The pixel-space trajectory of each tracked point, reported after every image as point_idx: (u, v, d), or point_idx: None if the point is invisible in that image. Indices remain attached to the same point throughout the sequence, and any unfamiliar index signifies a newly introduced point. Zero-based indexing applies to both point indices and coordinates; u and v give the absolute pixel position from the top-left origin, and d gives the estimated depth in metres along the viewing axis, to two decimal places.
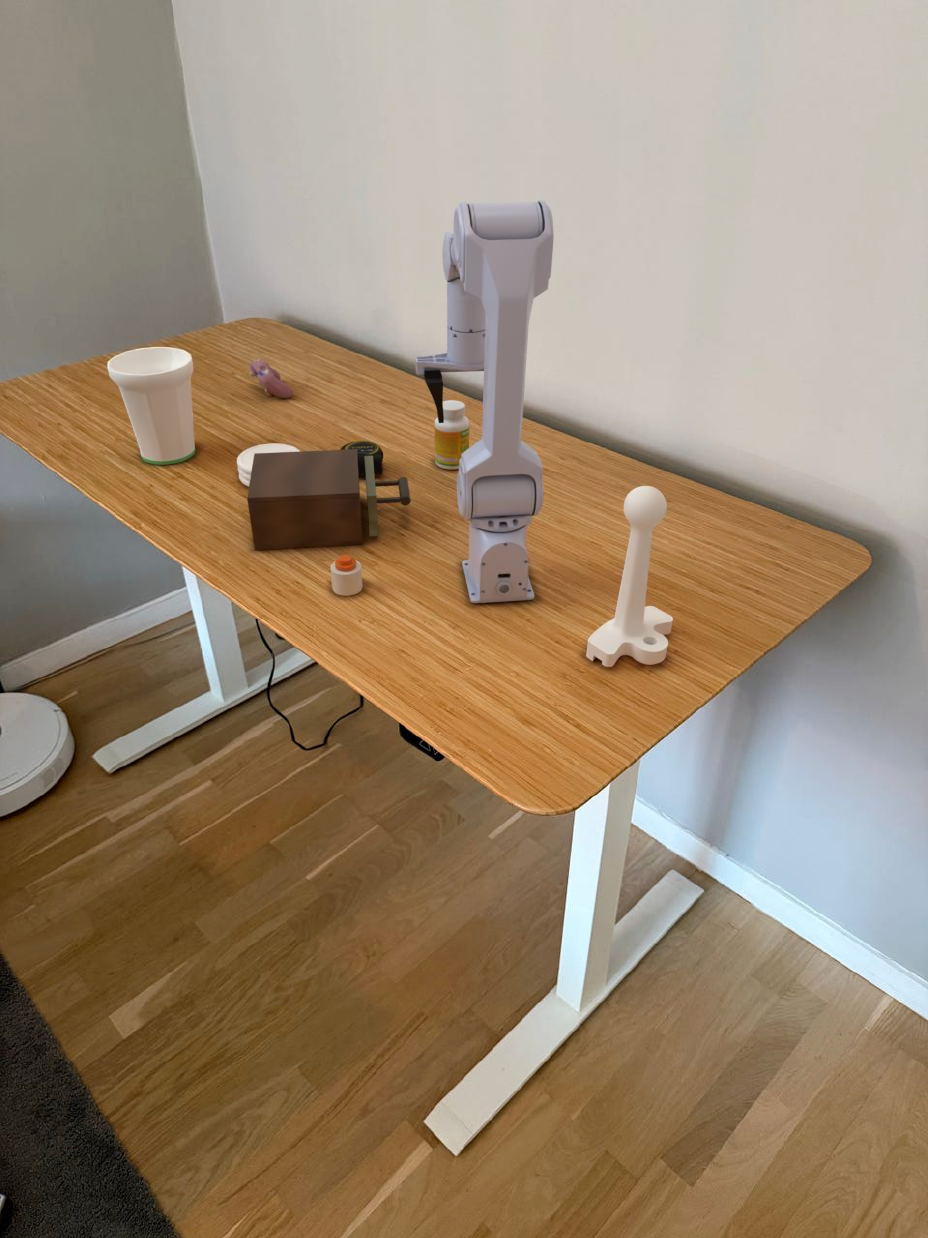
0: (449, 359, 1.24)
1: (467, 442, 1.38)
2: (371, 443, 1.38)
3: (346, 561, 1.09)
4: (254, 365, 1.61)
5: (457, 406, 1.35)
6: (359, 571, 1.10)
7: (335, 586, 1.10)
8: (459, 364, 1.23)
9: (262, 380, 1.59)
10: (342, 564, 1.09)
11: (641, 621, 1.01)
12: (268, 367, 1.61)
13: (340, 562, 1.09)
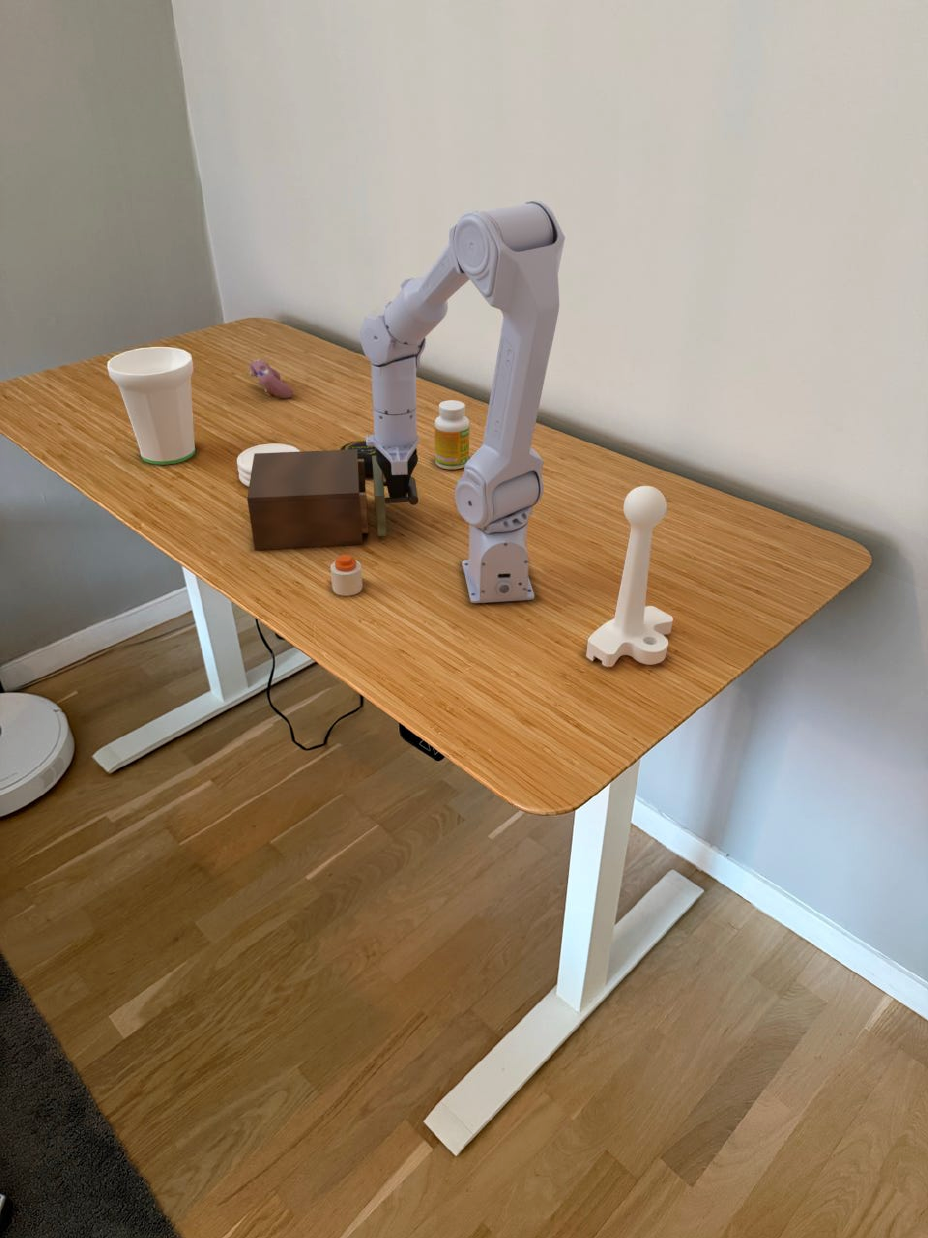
0: (404, 444, 1.17)
1: (467, 442, 1.38)
2: None
3: (346, 561, 1.09)
4: (254, 365, 1.61)
5: (457, 406, 1.35)
6: (359, 571, 1.10)
7: (335, 586, 1.10)
8: (416, 441, 1.19)
9: (262, 380, 1.59)
10: (342, 564, 1.09)
11: (641, 621, 1.01)
12: (268, 367, 1.61)
13: (340, 562, 1.09)
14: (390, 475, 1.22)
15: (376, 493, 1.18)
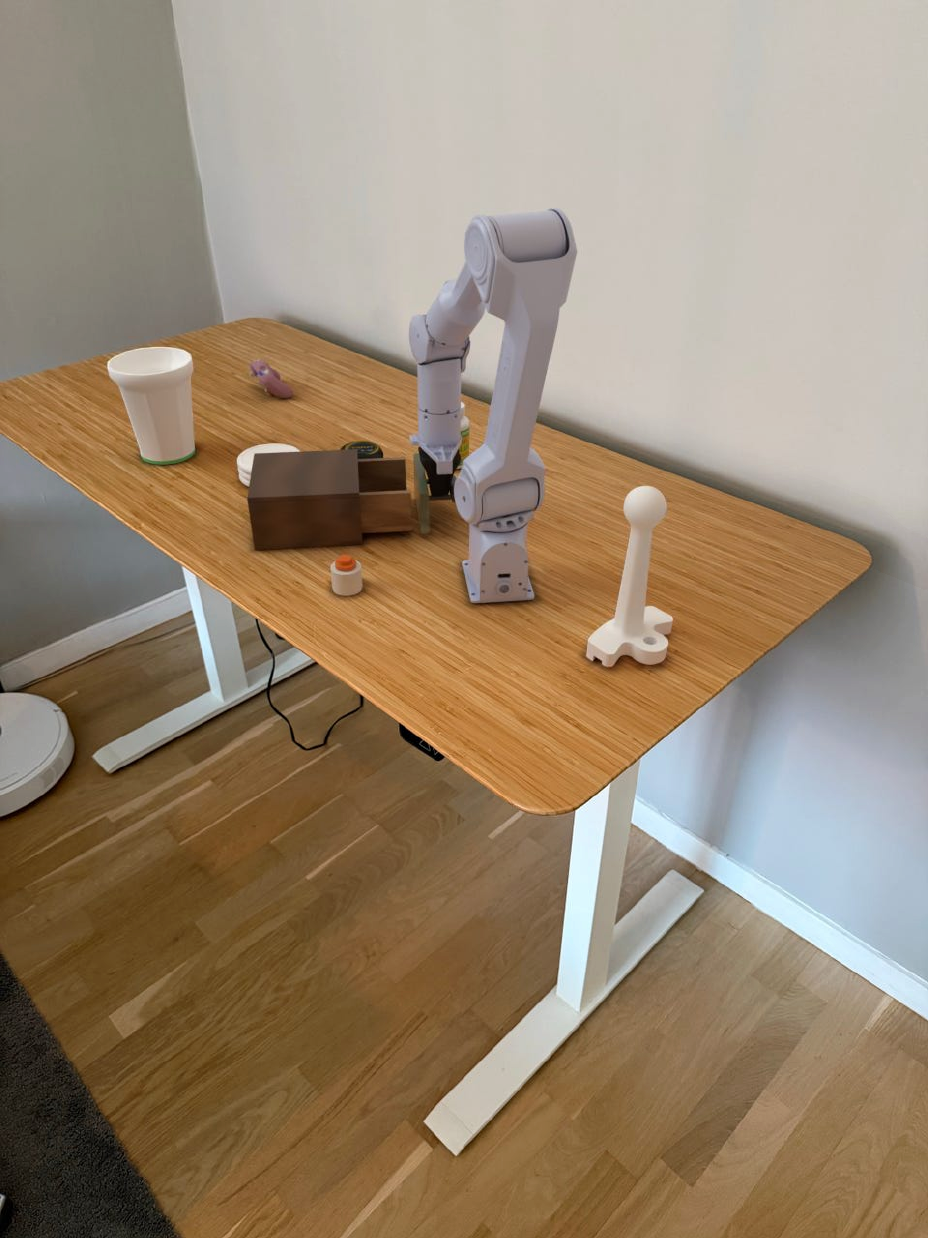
0: (449, 443, 1.18)
1: (467, 442, 1.38)
2: (371, 443, 1.38)
3: (346, 561, 1.09)
4: (254, 365, 1.61)
5: None
6: (359, 571, 1.10)
7: (335, 586, 1.10)
8: (459, 440, 1.19)
9: (262, 380, 1.59)
10: (342, 564, 1.09)
11: (641, 621, 1.01)
12: (268, 367, 1.61)
13: (340, 562, 1.09)
14: (433, 474, 1.22)
15: (420, 491, 1.18)
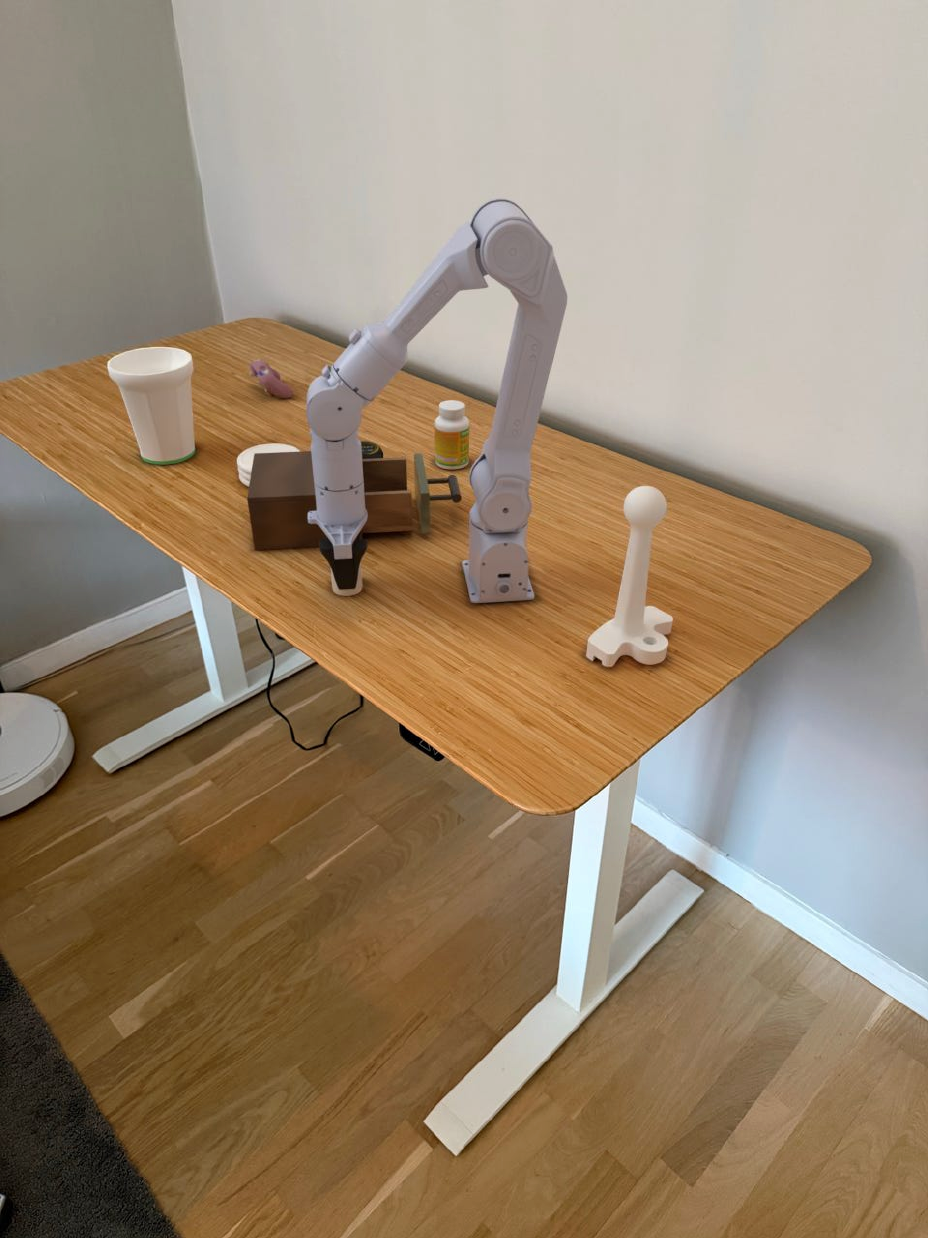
0: (350, 522, 1.04)
1: (467, 442, 1.38)
2: (371, 443, 1.38)
3: None
4: (254, 365, 1.61)
5: (457, 406, 1.35)
6: (359, 571, 1.10)
7: (335, 586, 1.10)
8: (363, 518, 1.05)
9: (262, 380, 1.59)
10: None
11: (641, 621, 1.01)
12: (268, 367, 1.61)
13: None
14: (336, 562, 1.07)
15: (421, 491, 1.18)
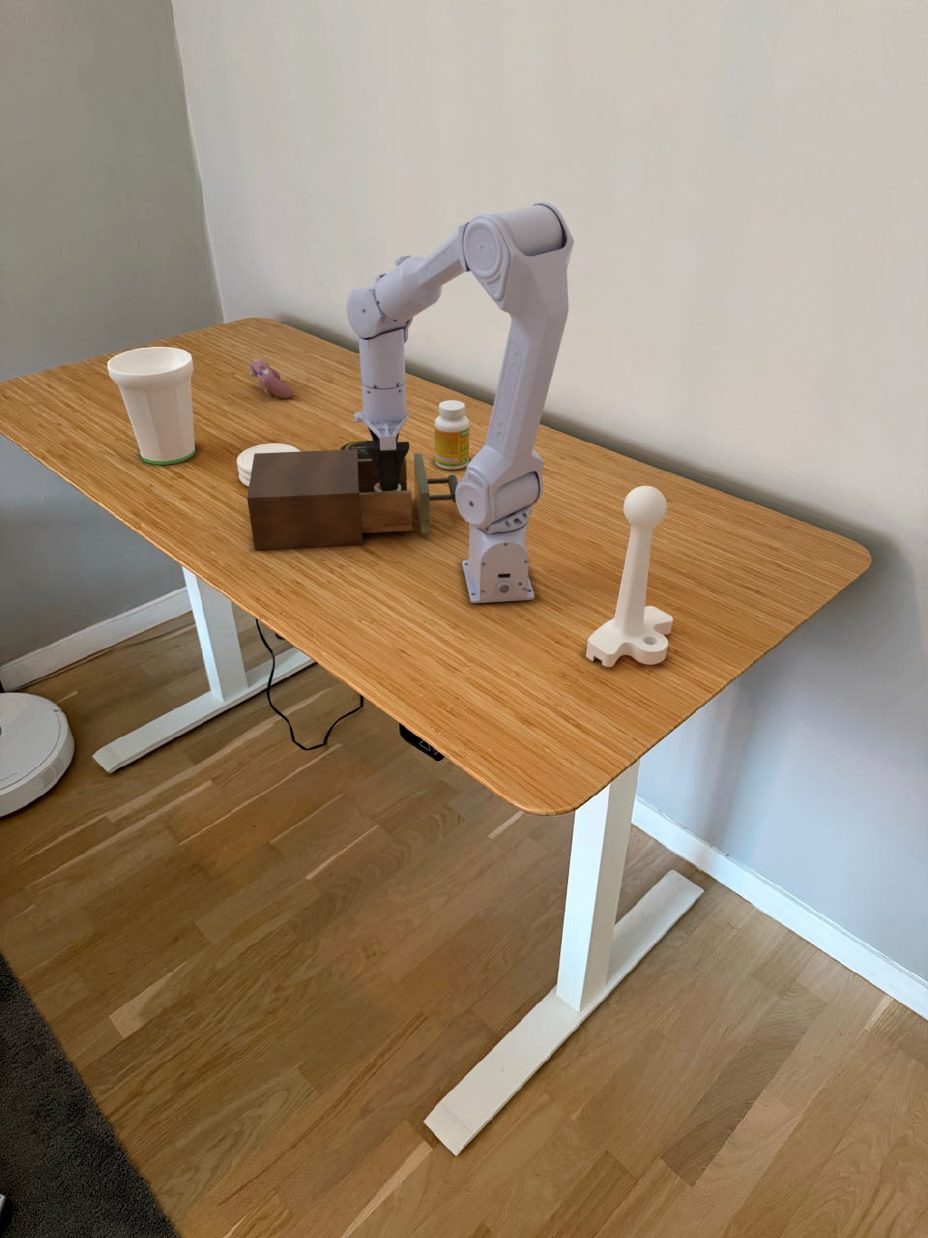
0: (393, 419, 1.15)
1: (467, 442, 1.38)
2: None
3: None
4: (254, 365, 1.61)
5: (457, 406, 1.35)
6: None
7: None
8: (405, 417, 1.16)
9: (262, 380, 1.59)
10: None
11: (641, 621, 1.01)
12: (268, 367, 1.61)
13: None
14: (381, 464, 1.17)
15: (421, 491, 1.18)
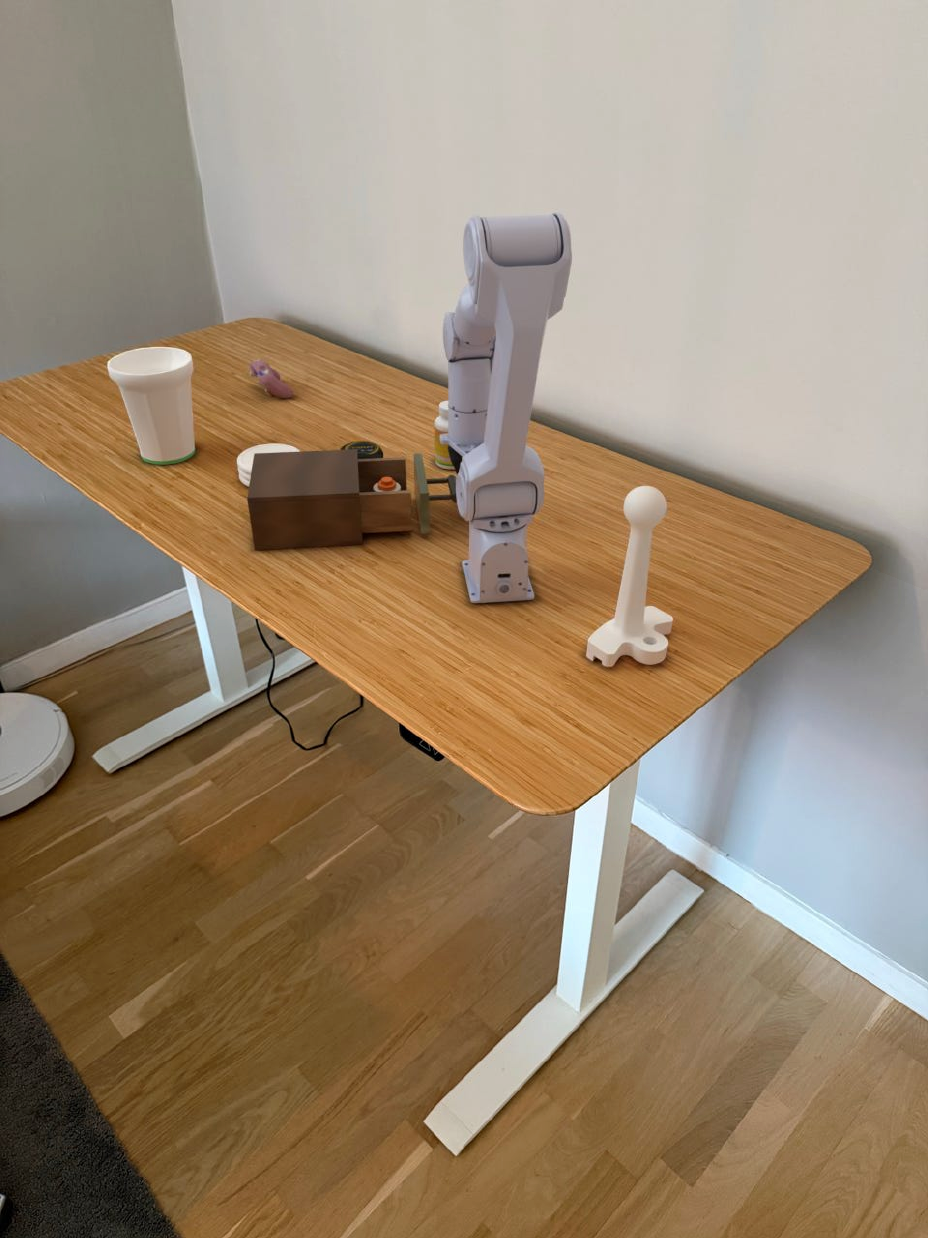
0: (479, 442, 1.18)
1: None
2: (371, 443, 1.38)
3: (388, 481, 1.22)
4: (254, 365, 1.61)
5: None
6: None
7: None
8: None
9: (262, 380, 1.59)
10: (384, 485, 1.23)
11: (641, 621, 1.01)
12: (268, 367, 1.61)
13: (382, 483, 1.23)
14: None
15: (421, 491, 1.18)
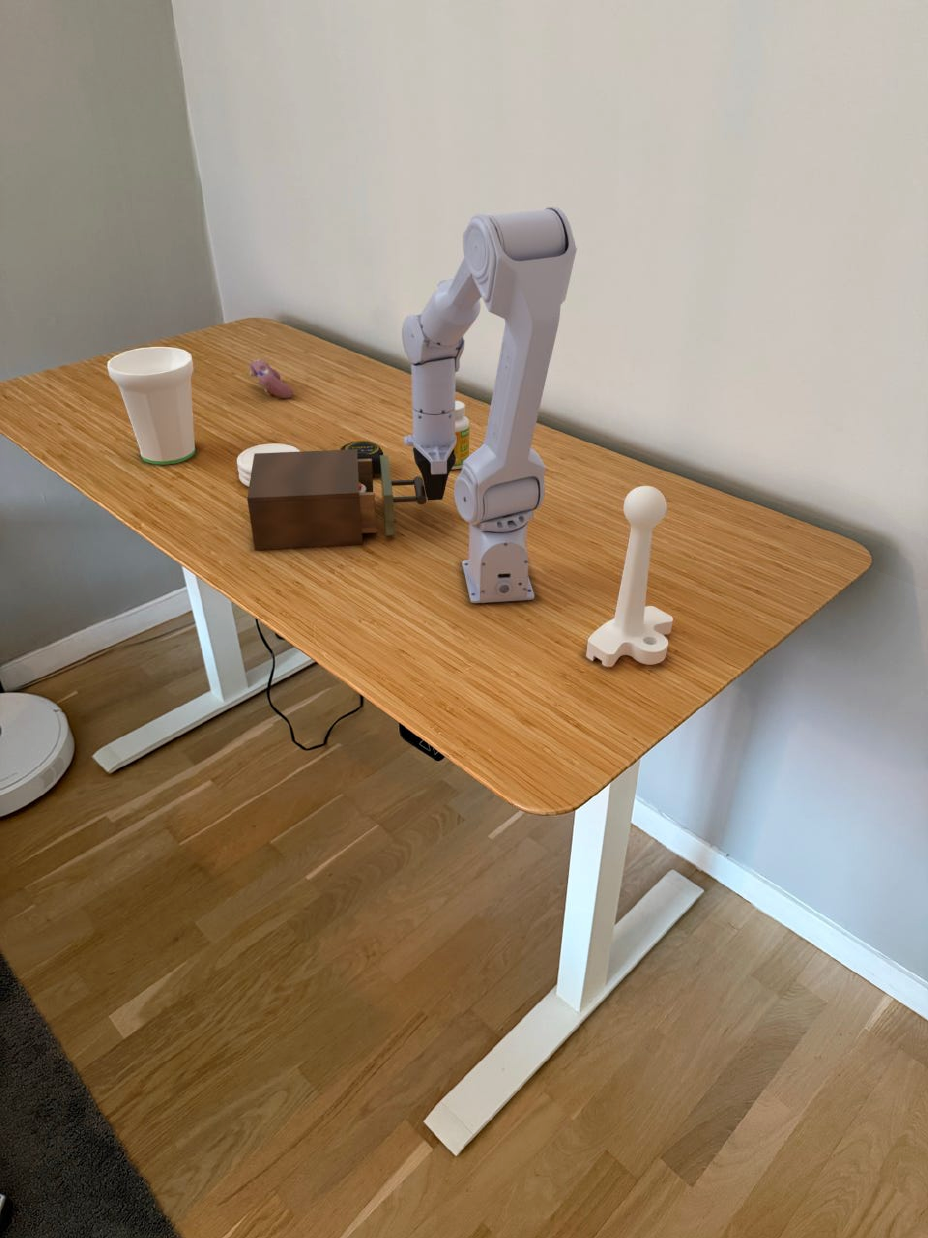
0: (443, 443, 1.18)
1: (467, 442, 1.38)
2: (371, 443, 1.38)
3: None
4: (254, 365, 1.61)
5: (457, 406, 1.35)
6: None
7: None
8: (454, 440, 1.19)
9: (262, 380, 1.59)
10: None
11: (641, 621, 1.01)
12: (268, 367, 1.61)
13: None
14: (428, 475, 1.22)
15: (384, 493, 1.18)
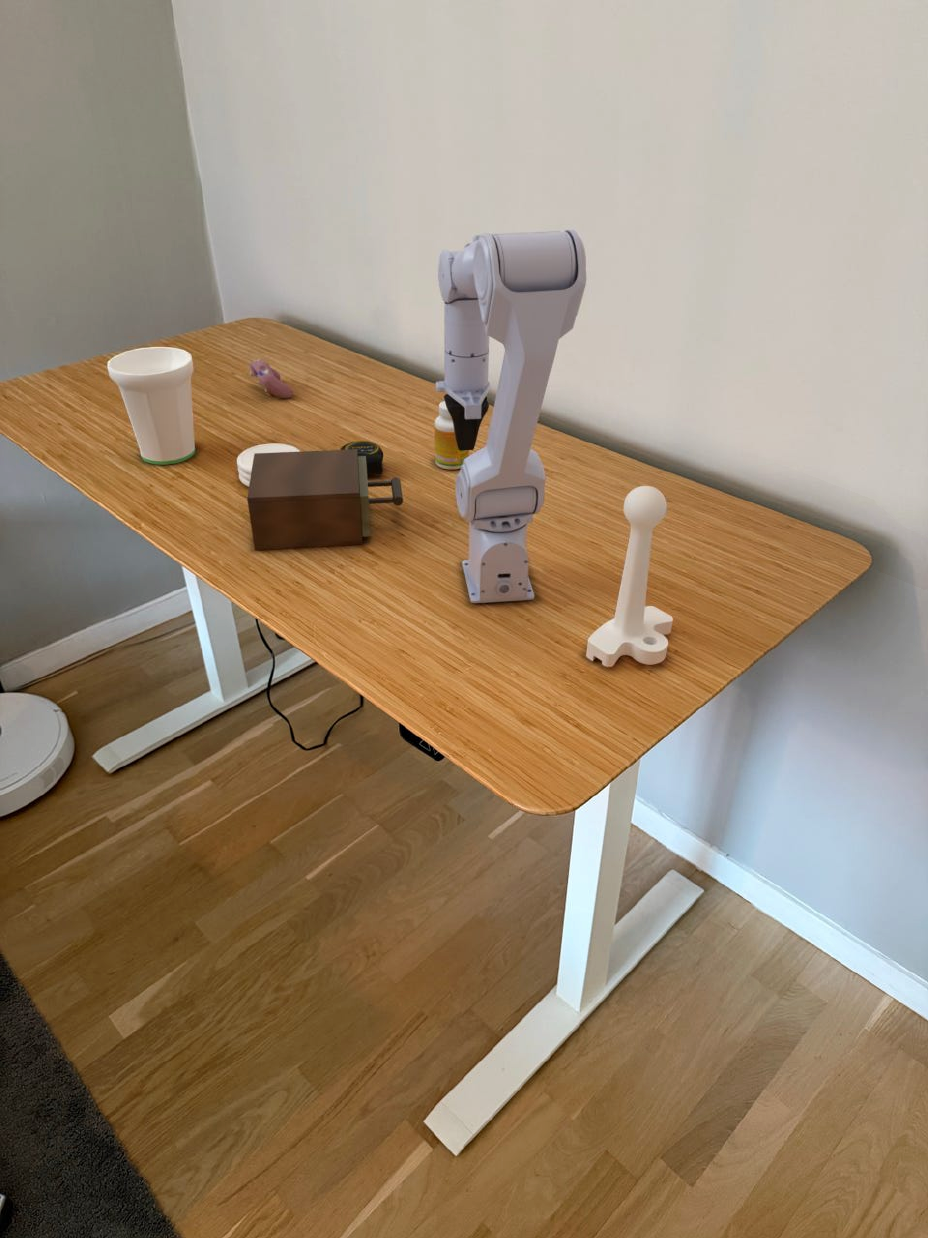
0: (476, 389, 1.14)
1: None
2: (371, 443, 1.38)
3: None
4: (254, 365, 1.61)
5: None
6: None
7: None
8: (487, 386, 1.15)
9: (262, 380, 1.59)
10: None
11: (641, 621, 1.01)
12: (268, 367, 1.61)
13: None
14: (459, 423, 1.18)
15: (360, 494, 1.18)
